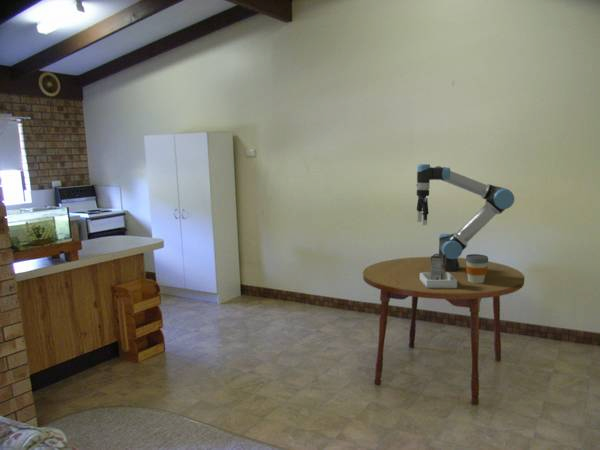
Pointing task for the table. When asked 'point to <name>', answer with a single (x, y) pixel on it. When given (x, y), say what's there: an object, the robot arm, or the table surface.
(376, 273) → the table surface
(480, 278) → the reusable coffee cup
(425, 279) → the bin
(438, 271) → the coffee box
